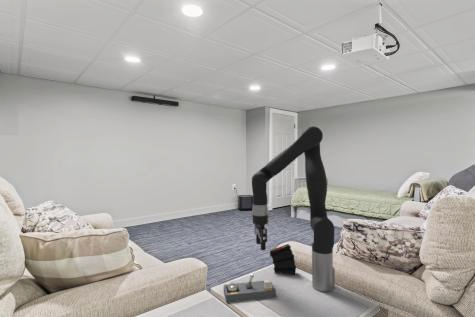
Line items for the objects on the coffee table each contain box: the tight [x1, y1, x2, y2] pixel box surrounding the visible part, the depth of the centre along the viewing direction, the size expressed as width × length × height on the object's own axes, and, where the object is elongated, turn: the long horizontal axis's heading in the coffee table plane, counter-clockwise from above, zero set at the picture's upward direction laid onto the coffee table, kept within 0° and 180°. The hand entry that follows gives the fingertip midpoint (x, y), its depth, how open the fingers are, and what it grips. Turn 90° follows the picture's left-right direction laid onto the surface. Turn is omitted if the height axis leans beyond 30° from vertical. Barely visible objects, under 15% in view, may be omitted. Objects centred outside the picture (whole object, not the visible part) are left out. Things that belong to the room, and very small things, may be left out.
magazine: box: [269, 243, 297, 276], centre depth 138 cm, size 4×13×15 cm, turn 72°
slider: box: [263, 279, 273, 289], centre depth 117 cm, size 3×2×3 cm, turn 100°
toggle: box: [248, 273, 255, 284], centre depth 118 cm, size 2×2×4 cm
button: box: [228, 282, 238, 293], centre depth 117 cm, size 4×4×3 cm
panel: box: [223, 280, 277, 303], centre depth 118 cm, size 22×9×4 cm, turn 100°
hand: (260, 246), depth 127 cm, fingers open, 8 cm apart
